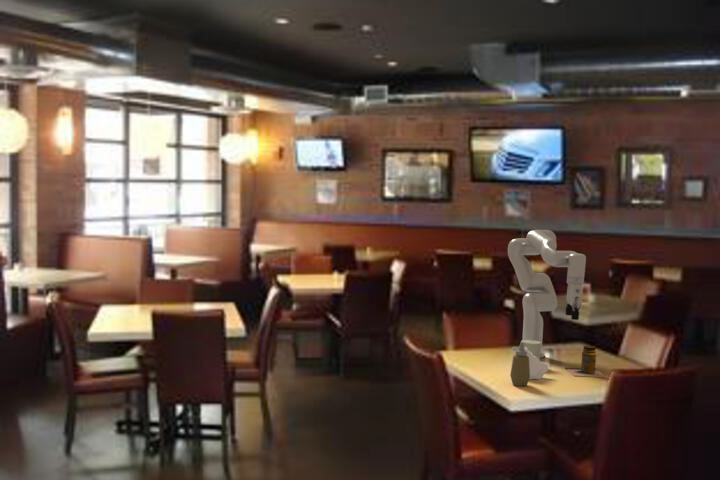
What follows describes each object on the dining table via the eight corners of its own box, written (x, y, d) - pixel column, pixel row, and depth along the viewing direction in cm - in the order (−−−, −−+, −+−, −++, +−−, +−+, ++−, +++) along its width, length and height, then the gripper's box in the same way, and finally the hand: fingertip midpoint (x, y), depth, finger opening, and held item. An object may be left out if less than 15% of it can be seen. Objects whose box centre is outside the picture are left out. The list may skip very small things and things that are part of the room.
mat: (573, 376, 345) (573, 375, 345) (566, 370, 357) (566, 369, 357) (605, 377, 345) (605, 376, 345) (597, 371, 357) (597, 370, 357)
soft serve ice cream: (539, 385, 332) (536, 355, 328) (506, 383, 340) (502, 353, 336) (548, 373, 342) (545, 343, 338) (516, 370, 350) (512, 341, 346)
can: (541, 365, 364) (543, 340, 364) (537, 369, 356) (538, 343, 355) (522, 363, 368) (523, 338, 367) (517, 366, 360) (518, 341, 359)
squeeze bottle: (507, 382, 329) (509, 340, 328) (526, 382, 330) (528, 340, 328) (512, 387, 321) (515, 343, 320) (532, 387, 321) (534, 344, 320)
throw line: (565, 369, 359) (565, 368, 359) (565, 368, 360) (565, 367, 360) (596, 370, 359) (596, 369, 359) (595, 369, 360) (595, 368, 360)
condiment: (599, 374, 350) (600, 347, 349) (585, 375, 345) (587, 348, 345) (586, 370, 356) (588, 344, 355) (573, 372, 352) (575, 345, 351)
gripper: (589, 284, 347) (585, 321, 349) (578, 277, 364) (574, 313, 366) (572, 283, 347) (568, 320, 349) (562, 276, 364) (558, 312, 366)
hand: (571, 317), depth 358 cm, fingers open, 9 cm apart
